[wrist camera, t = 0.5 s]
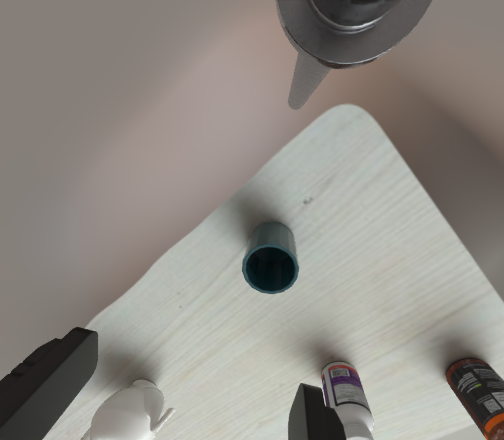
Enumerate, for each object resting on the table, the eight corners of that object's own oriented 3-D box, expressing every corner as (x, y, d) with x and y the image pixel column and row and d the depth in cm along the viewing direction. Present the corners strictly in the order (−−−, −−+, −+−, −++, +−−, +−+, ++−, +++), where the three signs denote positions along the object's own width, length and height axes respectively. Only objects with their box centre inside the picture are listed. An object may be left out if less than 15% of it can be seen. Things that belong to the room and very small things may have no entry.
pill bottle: (343, 393, 40) (362, 470, 31) (313, 377, 39) (324, 450, 30) (365, 371, 38) (392, 446, 29) (334, 354, 38) (352, 425, 29)
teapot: (206, 390, 43) (187, 456, 34) (120, 423, 48) (85, 488, 39) (172, 349, 41) (142, 407, 32) (86, 388, 46) (40, 448, 37)
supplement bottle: (475, 393, 37) (553, 497, 27) (435, 380, 37) (498, 479, 27) (500, 364, 35) (595, 463, 25) (458, 350, 35) (535, 444, 25)
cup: (252, 218, 32) (244, 240, 26) (298, 224, 32) (302, 248, 25) (248, 259, 34) (240, 289, 28) (291, 265, 34) (294, 297, 27)
